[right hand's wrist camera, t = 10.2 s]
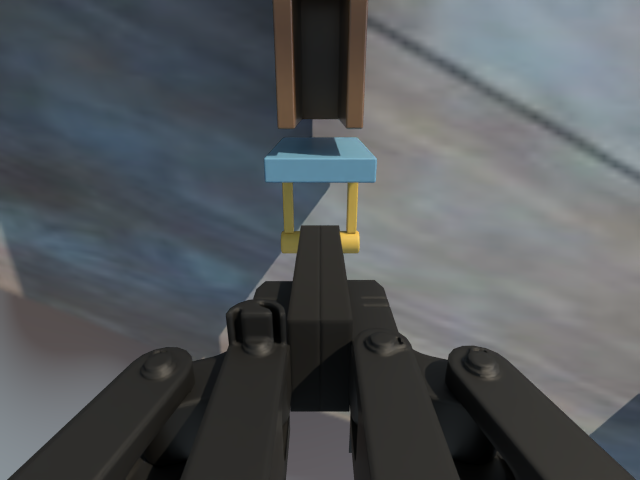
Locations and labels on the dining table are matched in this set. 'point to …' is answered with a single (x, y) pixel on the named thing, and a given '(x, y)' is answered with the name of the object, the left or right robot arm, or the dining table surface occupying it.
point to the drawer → (320, 103)
